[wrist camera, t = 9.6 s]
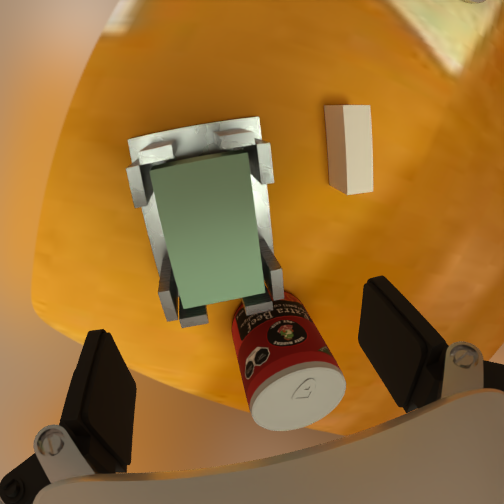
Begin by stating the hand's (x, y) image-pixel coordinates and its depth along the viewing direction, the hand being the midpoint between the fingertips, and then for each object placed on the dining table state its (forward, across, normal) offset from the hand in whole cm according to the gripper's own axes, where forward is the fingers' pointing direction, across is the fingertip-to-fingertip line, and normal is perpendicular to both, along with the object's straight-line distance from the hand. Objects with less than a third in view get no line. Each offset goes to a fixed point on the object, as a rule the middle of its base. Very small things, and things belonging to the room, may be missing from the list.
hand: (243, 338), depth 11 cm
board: (+12, +1, 0) cm, 13 cm away
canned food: (+17, -3, +13) cm, 21 cm away
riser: (+17, -11, -3) cm, 21 cm away
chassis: (+16, +1, +1) cm, 17 cm away
